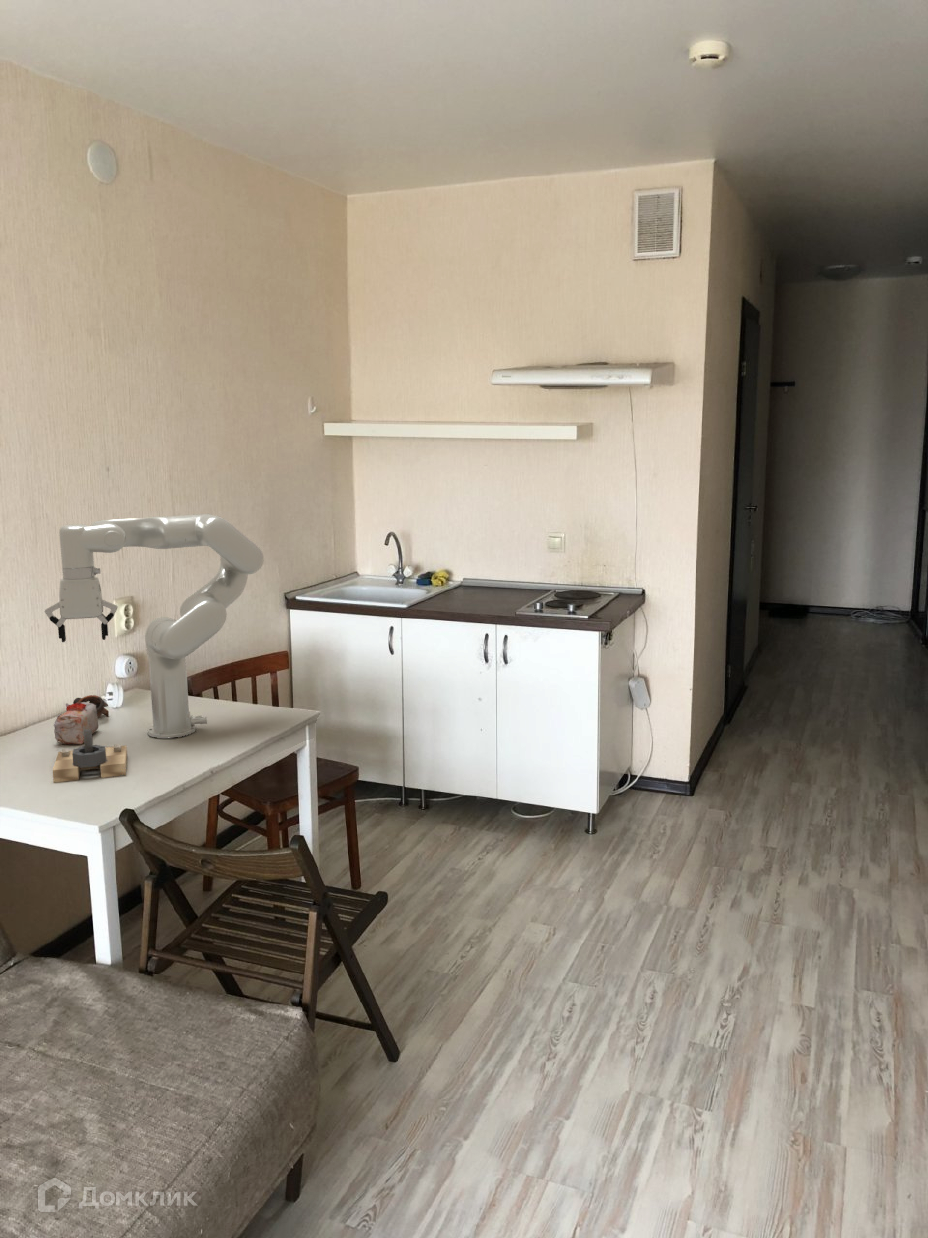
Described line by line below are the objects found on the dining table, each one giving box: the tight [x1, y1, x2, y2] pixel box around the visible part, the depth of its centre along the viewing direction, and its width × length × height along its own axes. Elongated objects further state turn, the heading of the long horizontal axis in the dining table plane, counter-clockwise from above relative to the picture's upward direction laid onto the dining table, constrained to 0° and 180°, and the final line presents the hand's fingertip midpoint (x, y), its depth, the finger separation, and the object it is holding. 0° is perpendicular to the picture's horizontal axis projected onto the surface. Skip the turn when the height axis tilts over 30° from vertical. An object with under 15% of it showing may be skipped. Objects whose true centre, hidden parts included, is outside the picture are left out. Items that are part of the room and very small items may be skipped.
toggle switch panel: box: [52, 729, 128, 783], centre depth 239 cm, size 16×14×11 cm
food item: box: [53, 702, 99, 746], centre depth 263 cm, size 14×8×10 cm, turn 2°
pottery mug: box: [72, 694, 110, 718], centre depth 280 cm, size 12×10×8 cm
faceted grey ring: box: [72, 744, 106, 767], centre depth 236 cm, size 7×7×3 cm
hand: (84, 640), depth 252 cm, fingers open, 9 cm apart
